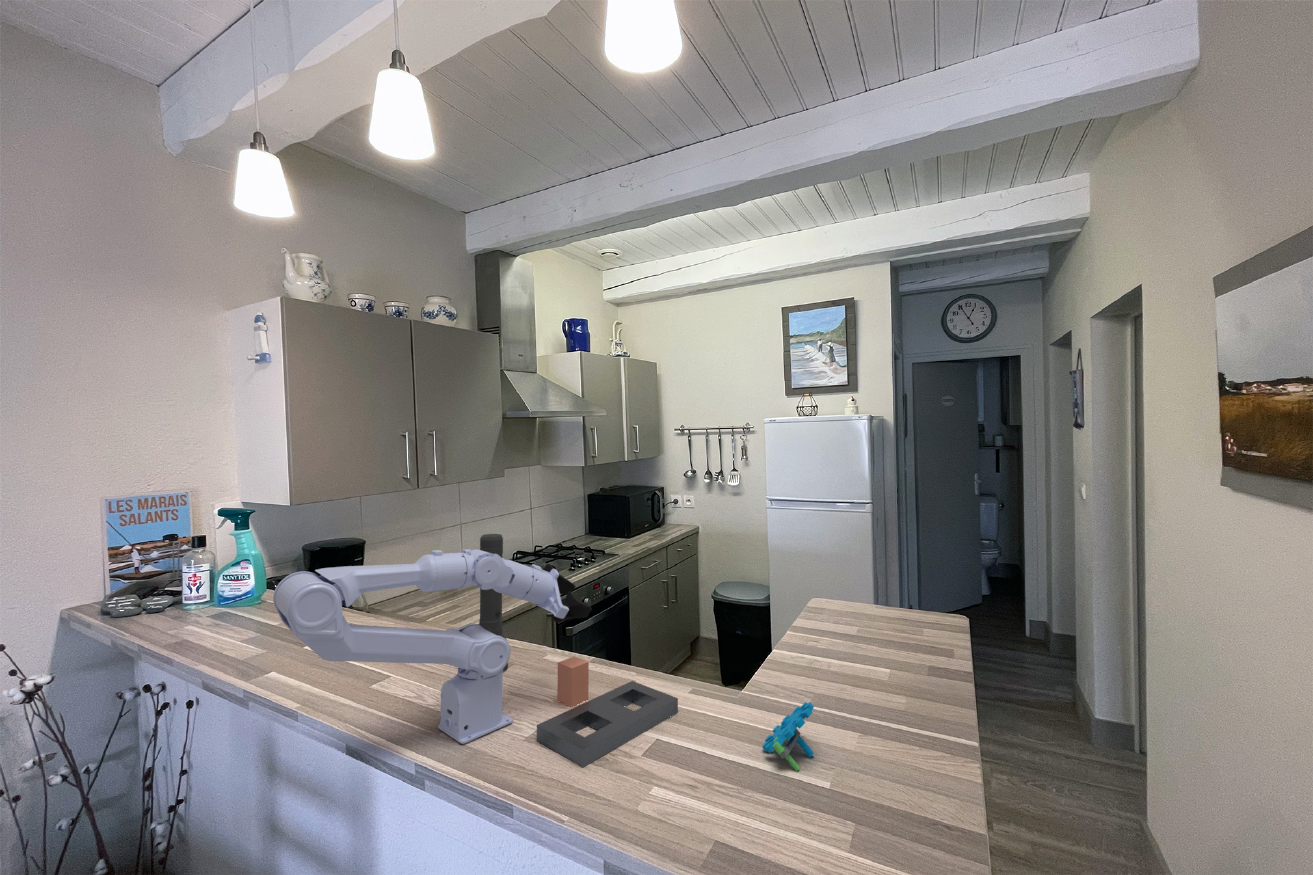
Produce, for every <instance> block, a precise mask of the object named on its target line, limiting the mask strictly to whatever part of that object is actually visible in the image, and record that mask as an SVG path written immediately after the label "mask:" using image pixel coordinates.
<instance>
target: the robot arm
mask: <svg viewBox="0 0 1313 875" xmlns="http://www.w3.org/2000/svg"><path fill="white" fill-rule="evenodd" d="M430 552H431V554H423V555H422V556H421V557H420V558H419V559H417V560H416V562H414V563H404V564H403V563H402V564H399V563H398V564H375V565H374V564H373V565H353V566H352V565H348V566H335V567H324V568H318V569H315V570H314V571H315V572H316V573H317V574H316V573H314V572H310V571H305V570H304V571H301V570H300V571H297V572H294V573H290V574H289V575H287V576H285V577H284V578H283V579H281V581H280V582H279V583H278V584H277V585H276V588H274V592H273V595H272V596H273V598H272V600H273V604H274V607H275V609H276V611H277V613H278V616H279V618H280V620H281V622H282V623H284V624H285V626H286V627H287V628H288V629H289V631H290V632H292V634H293V635H294V636H295V637H296V638H297V639H299V640H300V641H301V643H303V644H304V645H306V647H308V648H309V649H310V650H311V651H313V652H314V654H316V655H317V656H318V657H319V658H320V659H321V660H324V661H327V662H352V663H353V662H355V663H357V662H360V663H399V664H429V665H430V664H432V665H433V664H434V665H435V664H436V665H437V664H438V665H447V666H448V665H449V666H452V667H455V668H457V673H456V674H455V675H454V676H453V677H452V678H450V679H448V680H446V681H445V682H443V684H442V687H441V690H440V719H439V720H440V723H439V724H438V726H437V728H438V729H439V730H440V731H442V732H443V733H445V735H448V736H450V737H451V738H452V739H454V740H455V741H457V742H458V743H459V744H462V745H464V744H467V743H469V742H471V741H473V740H476V739H478V738H480V737H482V736H485V735H487V734H489V733H492V732H494V731H496V730H498V729H500V728H503V727H505V726H507V725H510V724H512V723H514V719H513V718H512V717H510V716H509V715H507V714H505V713H504V712H503V698H504V697H503V692H504V691H503V690H504V688H503V686H504V684H503V682H504V681H503V680H504V678H503V674H504V672H503V668H504V667H505V666H506V664H507V663H508V664H509V661H510V658H511V657H510V656H511V645H510V643H509V641H508V640H507V638H506V639H505V638H503V637H501V636H497V635H495V634H493V633H491V632H489V631H487V630H485V629H484V628H483V627H482V626H480V625H479V624H477V623H470V624H467V625H464V626H462V627H457V628H455V627H454V628H453V627H450V628H448V629H446V630H443V629H441V630H439V629H427V628H426V629H424V628H412V627H411V628H410V627H399V626H398V627H397V626H381V625H367V624H354V623H353V624H352V623H351V624H350V623H348V621H347V620H346V617H345V616H344V615H343V606H345V607H346V608H349V607H350V606H351V605H352V604H354V602H356V600H357V599H358V598H359V597H360V596H361V595H362V594H364V593H367V592H369V593H370V592H375V591H376V592H377V591H381V590H389V589H397V588H403V587H404V588H405V587H409V586H417V588H418V589H419V590H420V591H421V592H424V593H428V592H436V591H437V592H438V591H439V592H440V591H446V590H456V589H464V588H466V587H469V586H475V587H478V588H479V589H480V588H481V589H482V590H488V589H494V590H495V591H496V592H498V593H502V595H505V596H508V597H512V598H515V599H519V600H521V601H526V602H529V603H532V604H535V605H536V606H537V607H540V608H542V609H543V610H546V611H548V612H550V613H551V618H552V620H553V621H554V622H555V623H557V624H561V623H563V622H565V621H568V620H572V619H587V618H588V617H589V615H590V614H591V612H592V610H593V607H591V606H590V605H589V604H587V603H586V602H583V601H581V600H579V599H578V598H577V597H576V596H575V595H574V594H573V592H574V590H575V588H576V585H575V584H574V583H573V582H572V581H570V580H569V579H567V578H566V577H564V576H563V575H562V574H560V573H559V571H558V570H557V569H555V568H554V567H553V565H552V564H550V563H547V564H546V565H545V566H544V567H543V569H542V567H541V566H540V565H536V564H533V563H532V564H531V566H528V565H526V564H522V563H520V562H516V561H513V560H510V559H505V558H503V557H502V558H501V557H500V556H499V555H497V554H492V553H488V552H485V551H482V550H480V549H476V548H475V549H473V548H468V549H467V548H464V549H462V551H461V552H449V553H448V552H447V553H444V551H442V550H440V549H436V550H435V549H433V550H431V551H430ZM318 574H319V575H318ZM561 595H564V596H565V598H564V597H563V598H561Z"/></svg>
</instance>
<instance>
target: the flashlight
mask: <svg viewBox="0 0 1313 875" xmlns="http://www.w3.org/2000/svg"><path fill="white" fill-rule="evenodd" d="M479 550H482V551H485V552H488V553H492V554H497V555H499V556H500V557H501V558H503V553H504V537H503V536H502V534H500V533H487V534H483V535H481V536H480V539H479ZM479 594H480V595H479V620H478V622H479V623H478V625H480V626H482V627H483V628H484V629H485V630H487V631H489V632H491V633H493V634H495V635H497V636H501V637H503V638H505V639H506V640H507V637H506V635H505V634H504V633H503V594H502V593H498V592H496V591H495V590H494V589H488V590H482V589H481V588H479ZM508 668H509V662H508V663H507V664H506V666H505V667H504V668H503V673H505V672H506V671H507V670H508Z"/></svg>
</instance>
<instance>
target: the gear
mask: <svg viewBox="0 0 1313 875" xmlns="http://www.w3.org/2000/svg"><path fill="white" fill-rule="evenodd" d="M814 708H815V706H814V704H812V702H811V701H809V702H807V701H805V702H804V703H802V705H801V706H797V707H796V708H794V709H793V711H792V713H791V714H790V715H789V714H787V715H786V716H785V717H783V719H782V721H781V722H780V725H779V724H777V725H776V726H775V727H774V728H773V729H772V731H771V732H773V734H769V735H768V736H766V738H765V739H764V743H763V744H762V746H761V747H762V749H763V750H764V751H765V753H766V752H768V753H769V754H771V753H772V752H773V751H774V750H775V752H776V753H777V754H778V756H780V758H781V759H783V760H784V759H786V761H787V762H788V763H789V764H790V766H791V767H792V768H793V769H794V771H796V772H798V770H800V765H799V764H798V763H797V762H796V761H795V760H794V758H793V757H792V756H791V754H790V753H791V751H792V750H793V747H794V746H795V745H796V744H798V746H799V747H800V748H801V749H802V751H803V752H804V753H805V754H806V755H807V757H808V758H811V757H812V756H814V754H815V752H814V751H813V750H812V748H811V747H810V746H809V744H808V743H806V741H805V739H804V738H803V737H802V736H801V732H800V730H798V729H801V728H802V727H803V726H804V725H805V724H806V721H805V719H808V718H810V717H811V716H812V714H813V710H814ZM785 740H787V741H788V742H787V743H786V745H785V743H784V742H785Z"/></svg>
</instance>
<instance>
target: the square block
mask: <svg viewBox="0 0 1313 875" xmlns="http://www.w3.org/2000/svg"><path fill="white" fill-rule="evenodd" d="M589 664H590V662H589V661H587V660H585V659H582V658H579V657H578V656H572V657H570V658H566V659H564V660H561V661H558V662H557V690H556V691H557V693H556V694H557V699H556V700H557V702H558V701H560V702H559V703H561V702H562V703H561V704H563V705H565V704H566V705H565V706H567V707H569V706H570V707H569V708H571V707H572V708H574V707H577V706H578V705H577V704H579V705H581V704H583V703H584V702H583V701H585V702H587V701H589V684H590V682H589V674H590V673H589V670H590V669H589V667H590V666H589ZM586 700H587V701H586ZM582 702H583V703H582ZM580 703H581V704H580ZM576 705H577V706H576ZM573 706H574V707H573Z"/></svg>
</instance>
